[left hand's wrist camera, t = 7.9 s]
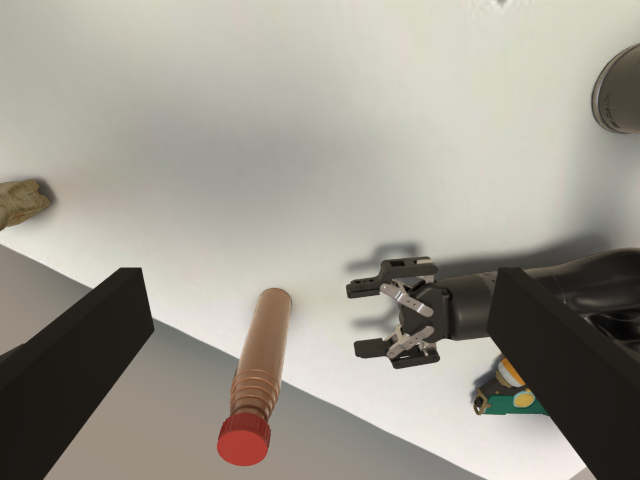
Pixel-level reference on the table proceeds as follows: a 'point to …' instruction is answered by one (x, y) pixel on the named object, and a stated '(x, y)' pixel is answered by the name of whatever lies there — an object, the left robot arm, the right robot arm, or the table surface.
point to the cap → (244, 439)
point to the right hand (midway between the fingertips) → (350, 321)
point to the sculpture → (20, 202)
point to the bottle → (262, 356)
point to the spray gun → (506, 394)
